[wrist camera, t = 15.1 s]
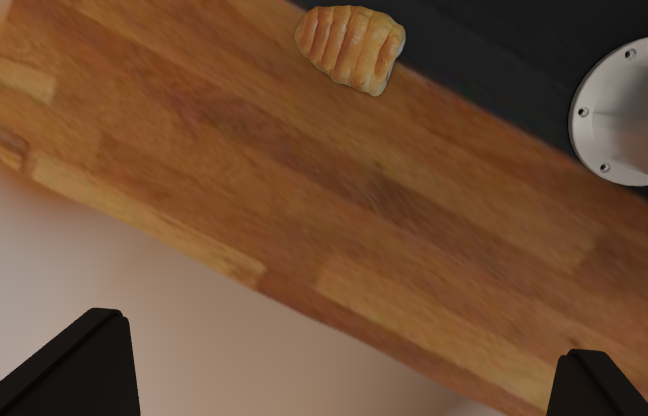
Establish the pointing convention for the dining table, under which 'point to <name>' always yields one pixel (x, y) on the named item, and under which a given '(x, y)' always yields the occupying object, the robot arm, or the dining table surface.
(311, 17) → the pastry
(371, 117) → the dining table surface
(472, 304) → the dining table surface
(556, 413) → the robot arm
